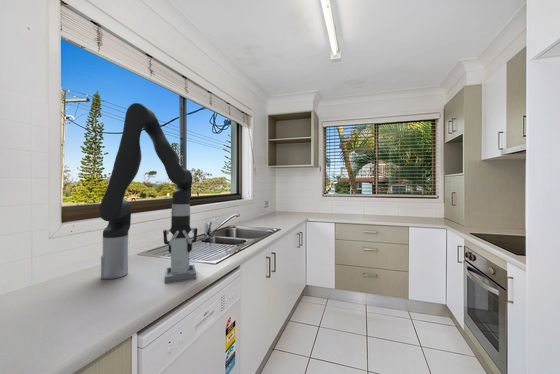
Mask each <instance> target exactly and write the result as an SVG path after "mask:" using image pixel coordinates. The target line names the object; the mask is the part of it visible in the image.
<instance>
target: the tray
mask: <svg viewBox="0 0 560 374" xmlns="http://www.w3.org/2000/svg"><path fill="white" fill-rule="evenodd" d="M195 267H196V266H195V264H189V269H188V270H187V272H186V273H185V274H180V275H178V274H175V275H171V266H170V267H169V266H168V267H165V270H164V271H165V272H164V284H171V283H175V282H176V283H177V282H183V281H192V280H197V271H196V268H195Z"/></svg>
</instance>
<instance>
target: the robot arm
mask: <svg viewBox="0 0 560 374" xmlns="http://www.w3.org/2000/svg"><path fill="white" fill-rule="evenodd" d="M143 130H144V132H145V133H146V134H147V135H148V136H149V138H150V140H151V143H152V146H153V149H154V151H155V154H156V155H157V157H158V159H159V161H160V162H161V164H162V165H163V167H164V170H165V173H166V175H167V177H168V179H169V180H170V181H171V183H173V184H174V185H176V186H175V187H176V188H175V190H174V191H172V198H171V201H172V204H171V212H170V214H171V217H170V218H171V219H170V221H171V222H170V223H171V224H170V226H171V227H170V228H169V229H168V228H167V229H165V228H164V229H163V231H162V233H163V244H165V245H167V246H168V253H170V255H171V240H172V239H175V238H185V237H186V238H187V240H188V242H189V243H188V252H189V253H191V252H192V250H193V243H196V242H197V238H198V228H197V227H194V228H193V227H191V205H190V199H191V198H190V193H191V189H192V185H193V175H192V172H191V171H190V170H189V169H187V168H183V167H182V166H181V164H180V160H181V159H180V157H179V156H178V154H177V153H176V151H175V150H174V148H173V146H172V145H171V143H170V142H169V140H168V139H167V136H166V134H165V133H164V131H163V129H162V127H161V124H160V123H159V120H158V117H157V116H156V114H155V112H154V111H153V110H152V109H150V108H149V107H147V106H146V105H144V104H142V103H140V102H135V103H132V104H130V105H128V107H127V110H126V112H125V117H124V124H123V129H122V135H121V138H120V141H119V146H118V150H117V152H116V156H115V159H114V163H113V167H112V171H111V174H110V178H109V180H108V184H107V187H106V190H105V192H104V195H103V197H102V200H101V202H100V204H99V208H98V214H99V217H100V218H101V219H102V220H103V221H105V222H108V224H107V226H106V227H105V228H104V229H103V231H102V255H101V256H100V280H102V279H105V280H111V279H118V278H123V277H125V276H127V275H128V274H129V230H130V228H131V220H132V207H131V204H130V203H129V201H128V200H126V199H124V197H125V195H126V192H127V190H128V188H129V186H130V185H131V183H132V182H133V181H134V179H135V178H136V177H137V174H138V172H139V169H140V166H141V162H142V150H141V149H142V148H141V140H140V139H141V134H142V131H143ZM190 232H192V233H193V235H192V238H191V237H190V236H189V234H190ZM169 234H171V235H172V236H171V237H170V240H168V235H169Z"/></svg>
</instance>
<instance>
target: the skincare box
mask: <svg viewBox="0 0 560 374" xmlns="http://www.w3.org/2000/svg"><path fill="white" fill-rule="evenodd" d="M170 240H171V239H170ZM188 243H189V242H188V240H187V238H186V237H185V238H175V239H172V240H171V254H170V267H171V275H175V274H178V275H180V274H185V273H186V272H187V270H188V269H189V265H190V252H188Z"/></svg>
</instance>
